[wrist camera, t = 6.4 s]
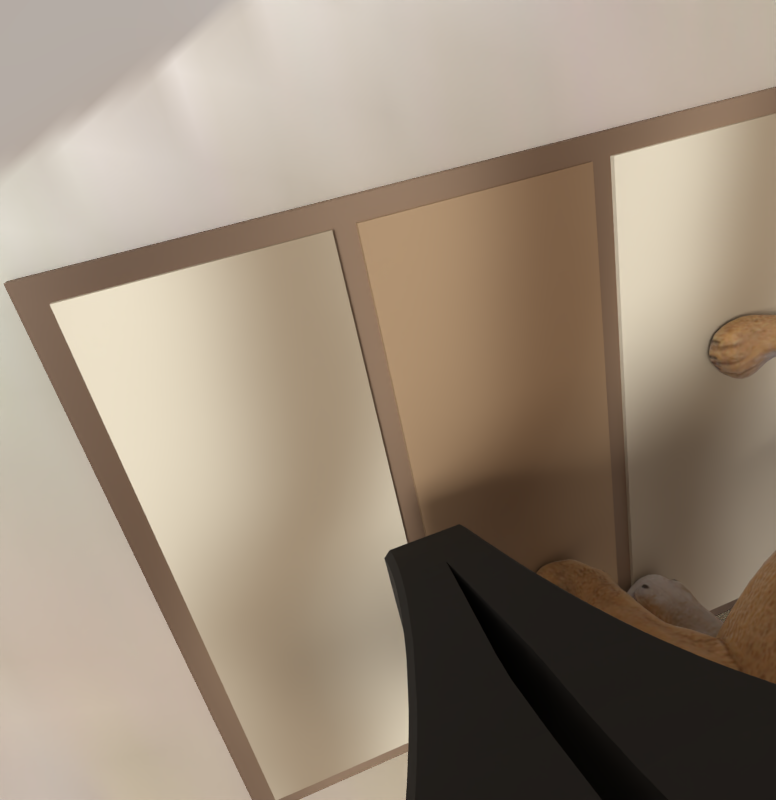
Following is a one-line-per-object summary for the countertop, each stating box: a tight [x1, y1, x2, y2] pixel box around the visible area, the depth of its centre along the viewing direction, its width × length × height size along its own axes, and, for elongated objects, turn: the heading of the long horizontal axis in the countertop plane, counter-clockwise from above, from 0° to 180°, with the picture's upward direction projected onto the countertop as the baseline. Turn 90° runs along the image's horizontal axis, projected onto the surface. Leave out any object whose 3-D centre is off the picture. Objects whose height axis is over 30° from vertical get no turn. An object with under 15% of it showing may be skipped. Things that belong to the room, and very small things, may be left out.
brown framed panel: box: [4, 87, 776, 800], centre depth 12 cm, size 14×12×1 cm
